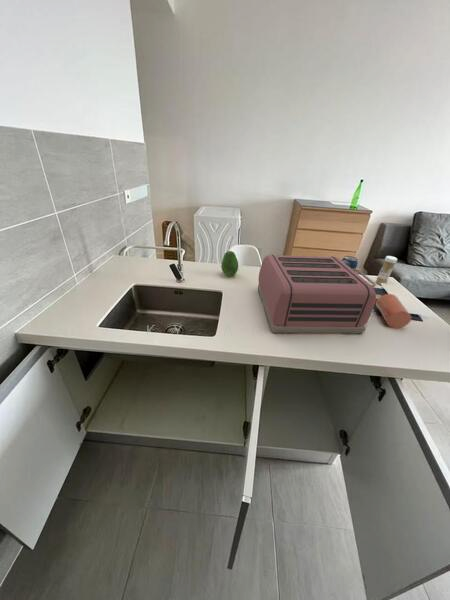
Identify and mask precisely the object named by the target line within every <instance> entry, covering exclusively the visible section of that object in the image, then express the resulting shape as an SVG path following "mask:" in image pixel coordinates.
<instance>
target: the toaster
mask: <svg viewBox="0 0 450 600" xmlns="http://www.w3.org/2000/svg"><path fill="white" fill-rule="evenodd" d="M341 260H342V259H340V258H339V257H337V256H315V255H285V254H284V255H282V254H268V255H266V256H265V257H264V258H263V259H262V263H261V265H260V268H259V273H258V278H257V279H258V285H257V292H258V294H259V297H260V301H261V304H262V306H263V310H264V312H265V315H266V318H267V322H268V324H269V327H270V330H271V333H272V334H363V333H364V332H365V331H366V328H367V327H366V326H365V325H366V324H367V323H368V321H370V317H371V316H372V313H373V311H374V309H373V307H374V304H375V299H376V293H375V290H374V288H376V285H377V283H376V282H374V281H373V280H372V279H371V278H370V277H368V276H367V275H365V273H363V272H362V271H361V270H359V269H358V268H356V269H352V268H350V267H349V266H347V265H346V264H345V263H344V262H343V261H341ZM364 278H365V279H364ZM367 281H368V282H367ZM369 282H370V283H369ZM373 287H374V288H373Z"/></svg>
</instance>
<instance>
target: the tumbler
mask: <svg viewBox="0 0 450 600" xmlns="http://www.w3.org/2000/svg"><path fill="white" fill-rule="evenodd" d="M376 306H377V308H378V310H379V311H380V313H381V314H382V318H383V320H384V321H385V322H386V324H387V326H388V327H390V328H392V329H401V328H404V327H406V326H408V325H409V324H410V322H411V321H412V320H411V315H410V314H409V313H410V312H409V311H408V309H407V308H406V307H405V305H403V303H402V302H401V301H400V299H399V298H398V296H396V295H395V294H392V293H388V294H385V295H383V296H381V297H380V298H378V300H377V301H376Z"/></svg>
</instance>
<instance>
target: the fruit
mask: <svg viewBox="0 0 450 600" xmlns="http://www.w3.org/2000/svg"><path fill="white" fill-rule="evenodd" d="M220 267H221V271H222V273H223V274H224V275H225V276H227V277H233V276H235V275H236V274H237V273H238V271H239V260H238V259H237V255H236V253H235V252H234V251H232V250H227V251H226V252H225V253H224V255H223V258H222V260H221V265H220Z"/></svg>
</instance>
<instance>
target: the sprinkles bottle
mask: <svg viewBox="0 0 450 600" xmlns="http://www.w3.org/2000/svg"><path fill="white" fill-rule="evenodd" d="M397 262H398V258H397V257H395V256H392V255H386V256H385V258H384V261H383V264H382V266H381V268H380V271H379V272H378V275H377V278H376V280H375V284H376V285H379V286H382V284H387V282H388V280H389V278H390V276H391V274H392V272H393V269H394V267H395V265H396V263H397Z"/></svg>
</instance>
